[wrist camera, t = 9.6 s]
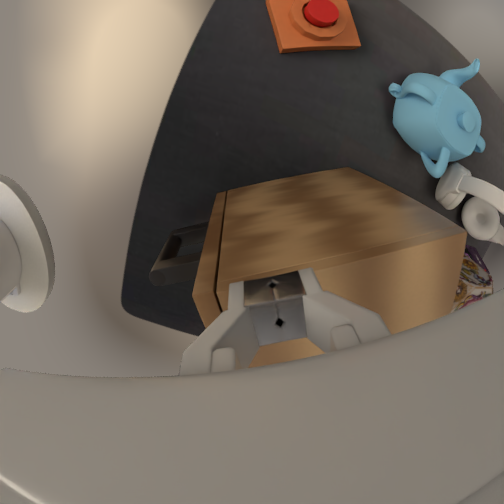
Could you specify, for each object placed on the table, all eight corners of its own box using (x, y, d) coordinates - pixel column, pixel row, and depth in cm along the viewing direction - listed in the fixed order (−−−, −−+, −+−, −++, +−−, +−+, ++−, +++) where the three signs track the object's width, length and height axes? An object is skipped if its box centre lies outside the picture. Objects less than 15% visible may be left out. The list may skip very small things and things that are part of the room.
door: (218, 331, 44) (213, 453, 24) (173, 204, 34) (104, 310, 14) (260, 323, 43) (275, 447, 24) (226, 190, 33) (213, 291, 14)
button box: (279, 53, 26) (285, 44, 22) (265, 2, 22) (269, -10, 19) (354, 49, 26) (367, 42, 22) (339, 1, 22) (350, -10, 18)
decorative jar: (397, 228, 37) (472, 294, 21) (445, 237, 38) (513, 293, 22) (374, 294, 42) (424, 372, 26) (422, 294, 44) (473, 359, 28)
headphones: (433, 146, 31) (538, 182, 14) (483, 206, 36) (559, 254, 18) (413, 184, 34) (513, 241, 16) (467, 236, 39) (538, 294, 21)
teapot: (392, 164, 33) (442, 188, 23) (366, 66, 26) (417, 57, 17) (450, 146, 32) (500, 165, 22) (431, 60, 25) (484, 58, 15)
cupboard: (261, 322, 43) (277, 448, 24) (227, 190, 34) (215, 292, 14) (355, 300, 43) (413, 408, 23) (348, 166, 33) (467, 231, 13)
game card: (492, 271, 35) (469, 265, 33) (476, 288, 38) (451, 285, 37) (477, 245, 39) (452, 236, 38) (462, 262, 43) (437, 257, 42)
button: (308, 27, 22) (312, 22, 20) (300, 3, 20) (304, -3, 18) (337, 27, 22) (342, 22, 20) (329, 3, 20) (334, -2, 18)
